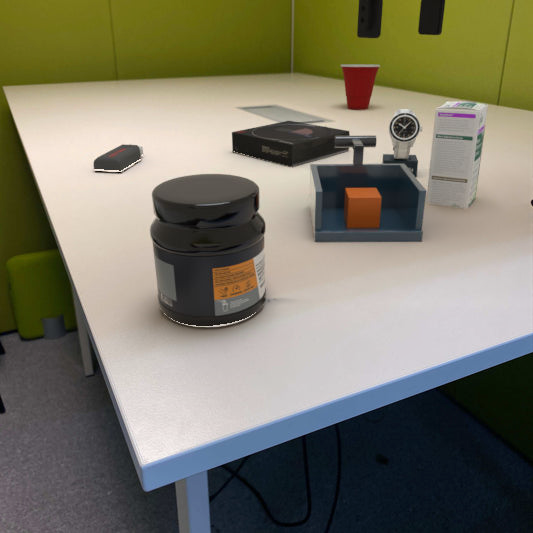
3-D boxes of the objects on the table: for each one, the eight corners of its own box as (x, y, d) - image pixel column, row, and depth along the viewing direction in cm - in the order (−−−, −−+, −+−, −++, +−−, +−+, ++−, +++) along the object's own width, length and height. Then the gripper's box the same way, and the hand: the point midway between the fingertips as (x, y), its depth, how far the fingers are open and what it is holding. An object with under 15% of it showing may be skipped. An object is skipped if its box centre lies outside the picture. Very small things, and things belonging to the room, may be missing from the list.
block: (374, 216, 72) (376, 187, 70) (379, 228, 68) (381, 197, 67) (343, 217, 72) (345, 187, 70) (347, 228, 68) (348, 197, 67)
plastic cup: (377, 105, 160) (380, 61, 155) (377, 111, 150) (380, 65, 145) (339, 104, 162) (341, 61, 157) (337, 110, 152) (339, 65, 147)
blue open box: (307, 202, 80) (309, 134, 76) (394, 201, 80) (400, 134, 76) (314, 247, 65) (316, 166, 61) (421, 247, 65) (430, 166, 61)
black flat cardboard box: (350, 150, 110) (351, 130, 109) (292, 166, 100) (292, 145, 98) (290, 138, 121) (290, 120, 119) (232, 152, 110) (231, 132, 109)
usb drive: (94, 172, 98) (91, 156, 97) (123, 155, 109) (121, 141, 108) (121, 173, 97) (119, 158, 96) (148, 156, 108) (146, 142, 107)
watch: (383, 182, 91) (388, 113, 86) (381, 169, 98) (386, 105, 93) (417, 183, 90) (425, 114, 85) (413, 169, 97) (420, 106, 92)
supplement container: (288, 311, 53) (288, 190, 47) (191, 347, 47) (179, 216, 42) (230, 272, 60) (225, 165, 55) (141, 300, 55) (126, 184, 50)
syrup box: (466, 217, 75) (483, 108, 69) (423, 211, 78) (435, 105, 71) (474, 205, 79) (490, 102, 73) (433, 199, 82) (445, 99, 76)
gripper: (377, -166, 49) (365, 40, 57) (500, -143, 58) (475, 34, 65) (326, -147, 55) (320, 37, 62) (444, -129, 63) (427, 32, 71)
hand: (399, 36), depth 64 cm, fingers open, 9 cm apart
